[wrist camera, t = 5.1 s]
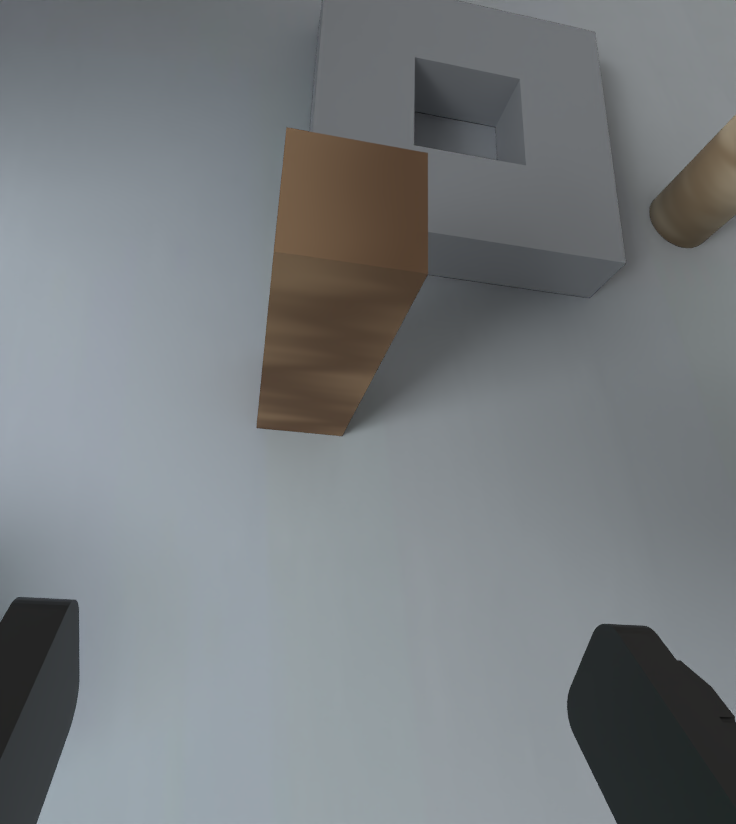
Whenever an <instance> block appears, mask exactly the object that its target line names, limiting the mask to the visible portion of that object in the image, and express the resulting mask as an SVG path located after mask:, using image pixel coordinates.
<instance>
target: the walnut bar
mask: <svg viewBox="0 0 736 824" xmlns="http://www.w3.org/2000/svg"><path fill="white" fill-rule="evenodd" d="M427 275H428V153H426V152H420V151H415V150H409V149H404V148H398V147H393V146H387V145H382V144H376V143H370V142H365V141H359V140H354V139H348V138H343V137H337V136H332V135H326V134H321V133H315V132H309V131H304V130H298V129H293V128H287V129H286V138H285V148H284V158H283V168H282V177H281V187H280V197H279V206H278V216H277V226H276V235H275V245H274V255H273V265H272V275H271V286H270V296H269V306H268V316H267V326H266V336H265V347H264V357H263V367H262V377H261V387H260V397H259V408H258V418H257V428H262V429H272V430H283V431H294V432H304V433H315V434H325V435H336V436H342V435H343V433H344V431H345V430H346V428H347V426H348V424H349V422H350V420H351V418H352V416H353V414H354V413H355V411H356V409H357V407H358V405H359V403H360V401H361V399H362V397H363V396H364V394H365V392H366V390H367V388H368V386H369V384H370V382H371V380H372V379H373V377H374V375H375V373H376V371H377V369H378V367H379V365H380V364H381V362H382V360H383V358H384V356H385V354H386V352H387V350H388V348H389V347H390V345H391V343H392V341H393V339H394V337H395V335H396V333H397V331H398V330H399V328H400V326H401V324H402V322H403V320H404V318H405V316H406V314H407V313H408V311H409V309H410V307H411V305H412V303H413V301H414V299H415V298H416V296H417V294H418V292H419V290H420V288H421V286H422V284H423V282H424V281H425V279H426V277H427Z"/></svg>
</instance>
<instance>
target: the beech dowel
mask: <svg viewBox="0 0 736 824" xmlns="http://www.w3.org/2000/svg"><path fill="white" fill-rule="evenodd" d="M735 215H736V115H735V116H734V117H733V118H732V119H731V120H730V121H729V122H728V123H727V124H726V125H725V126H724V127H723V128H722V129H721V130H720V131H719V132H718V133H717V135H716V136H715V137H714V138H713V139H712V140H711V141H710V142H709V143H708V144H707V145H706V146H705V147H704V148H703V149H702V150H701V151H700V152H699V153H698V154H697V155H696V156H695V157H694V159H693V160H692V161H691V162H690V163H689V164H688V165H687V166H686V167H685V168H684V169H683V170H682V171H681V172H680V173H679V174H678V175H677V176H676V177H675V178H674V179H673V180H672V181H671V183H670V184H669V185H668V186H667V187H666V188H665V189H664V190H663V191H662V192H661V193H660V194H659V195H658V196H657V197H656V198H655V199H654V200H653V202H652V203H651V206H650V218H651V221H652V224H653V226H654V227H655V229H656V230H657V232H658V233H659V234H660V235H661V236H662V237H663V238H664V239H666V240H667V241H668V242H670V243H672V244H674V245H676V246H679V247H683V248H693V247H696V246H699V245H700V244H702V243H703V242H704V241H705V240H706V239H708V238H709V237H710V236H711V235H712V234H714V233H715V232H716V231H717V230H718V229H720V228H721V227H722V226H723V225H724V224H725V223H727V222H728V221H729V220H730V219H731V218H733V217H734V216H735Z"/></svg>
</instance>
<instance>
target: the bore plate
mask: <svg viewBox="0 0 736 824" xmlns="http://www.w3.org/2000/svg"><path fill="white" fill-rule="evenodd" d="M414 111H415V112H421V113H426V114H431V115H436V116H441V117H447V118H452V119H457V120H462V121H467V122H473V123H478V124H483V125H488V126H494V127H496V147H497V160H493V159H488V158H482V157H477V156H471V155H466V154H460V153H455V152H449V151H444V150H438V149H433V148H427V147H422V146H416V145H414ZM309 132H315V133H321V134H326V135H332V136H337V137H343V138H348V139H354V140H359V141H365V142H370V143H376V144H382V145H387V146H393V147H398V148H404V149H409V150H415V151H420V152H426V153H428V275H435V276H442V277H449V278H455V279H462V280H469V281H476V282H483V283H490V284H497V285H504V286H511V287H518V288H525V289H532V290H538V291H545V292H552V293H559V294H566V295H573V296H580V297H587V298H590V297H591V296H592V295H593V294H594V293H595V292H596V291H597V290H598V289H599V288H600V287H601V286H603V285H604V284H605V283H606V282H607V281H608V280H609V279H610V278H611V277H612V276H613V275H614V274H615V273H616V272H617V271H618V270H619V269H620V268H621V267H622V266H623V265H624V264H626V259H625V251H624V244H623V236H622V229H621V221H620V214H619V206H618V199H617V191H616V184H615V176H614V169H613V161H612V154H611V146H610V139H609V131H608V124H607V116H606V109H605V101H604V93H603V86H602V78H601V71H600V63H599V56H598V48H597V41H596V33H595V32H594V31H589V30H585V29H581V28H576V27H572V26H567V25H563V24H559V23H554V22H550V21H545V20H541V19H537V18H532V17H528V16H523V15H519V14H515V13H510V12H506V11H501V10H497V9H493V8H488V7H484V6H479V5H475V4H471V3H466V2H462V1H457V0H322V5H321V13H320V20H319V27H318V38H317V50H316V62H315V73H314V85H313V96H312V108H311V120H310V131H309Z"/></svg>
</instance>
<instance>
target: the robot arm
mask: <svg viewBox="0 0 736 824" xmlns="http://www.w3.org/2000/svg"><path fill="white" fill-rule="evenodd" d="M78 689H79V607H78V602H77V601H76V600H70V599H49V598H29V597H18V598H16V599H15V600H14V601H13V602H12V604H11V605H10V607H9V608H8V610H7V612H6V614H5V615H4V617H3V619H2V621H1V622H0V824H36V823H37V821H38V818H39V815H40V812H41V809H42V806H43V804H44V801H45V798H46V795H47V792H48V789H49V787H50V784H51V781H52V778H53V775H54V772H55V770H56V767H57V764H58V761H59V758H60V755H61V753H62V750H63V747H64V744H65V741H66V738H67V736H68V733H69V730H70V727H71V723H72V720H73V716H74V712H75V708H76V703H77V697H78ZM567 710H568V718H569V722H570V726H571V729H572V731H573V734H574V736H575V738H576V740H577V742H578V744H579V746H580V748H581V750H582V752H583V754H584V756H585V759H586V761H587V763H588V765H589V767H590V769H591V771H592V773H593V775H594V777H595V779H596V781H597V783H598V785H599V787H600V789H601V791H602V793H603V796H604V798H605V800H606V802H607V804H608V806H609V808H610V810H611V812H612V814H613V816H614V818H615V820H616V822H617V824H736V722H735V717H734V715H733V714H732V713H731V711H730V710H729V709H728V708H727V706H726V705H725V704H724V702H723V701H722V700H721V699H720V697H719V696H718V695H717V693H716V692H715V691H714V689H713V688H712V687H711V686H710V685H709V684H707V683H706V682H705V681H704V680H703V679H702V678H700V677H699V676H698V675H697V674H696V673H694V672H693V671H692V670H691V669H690V668H688V667H687V666H686V665H685V664H684V663H683V662H681V661H679V660H676V659H675V658H674V656H673V655H672V654H671V652H670V651H669V650H668V648H667V647H666V646H665V644H664V643H663V642H662V640H661V639H660V638H659V636H658V635H657V634H656V633H655V632H654V631H653V630H652V629H651V628H649V627H647V626H637V625H617V624H601V625H599V626H598V627H597V628H596V629H595V630H594V632H593V634H592V637H591V639H590V641H589V644H588V646H587V649H586V651H585V653H584V656H583V658H582V661H581V663H580V665H579V668H578V670H577V673H576V675H575V677H574V680H573V682H572V685H571V687H570V690H569V693H568V700H567Z"/></svg>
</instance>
